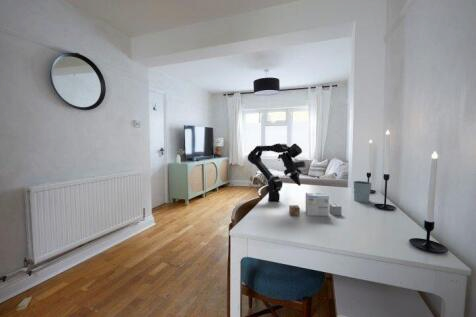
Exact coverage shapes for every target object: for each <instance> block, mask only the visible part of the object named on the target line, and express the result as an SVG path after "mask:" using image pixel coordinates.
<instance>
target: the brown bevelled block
mask: <svg viewBox="0 0 476 317" xmlns="http://www.w3.org/2000/svg"><path fill="white" fill-rule="evenodd" d="M288 208H289V209H288V215H289V216H290V217H300V212H301V211H300V210H301V208H300V207H299V205H297V204H289V205H288Z"/></svg>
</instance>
